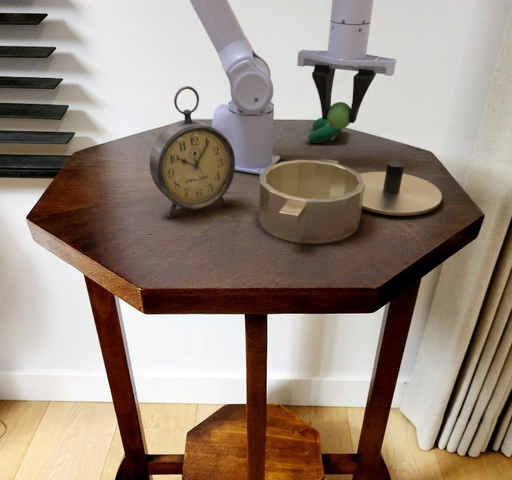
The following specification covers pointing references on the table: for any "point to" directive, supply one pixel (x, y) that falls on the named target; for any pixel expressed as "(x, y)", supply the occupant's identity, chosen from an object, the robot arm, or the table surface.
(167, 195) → the alarm clock
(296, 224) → the pot
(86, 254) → the table surface
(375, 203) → the lid
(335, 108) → the ball
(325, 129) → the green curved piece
